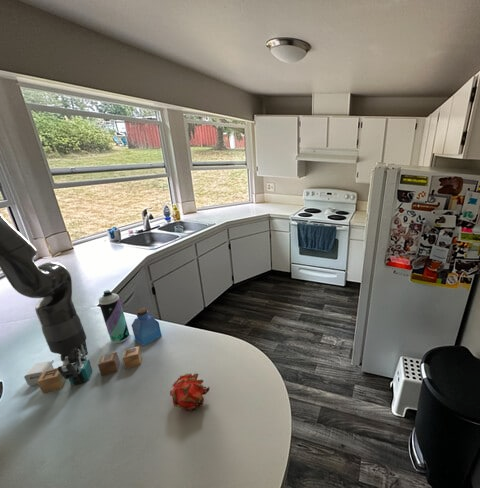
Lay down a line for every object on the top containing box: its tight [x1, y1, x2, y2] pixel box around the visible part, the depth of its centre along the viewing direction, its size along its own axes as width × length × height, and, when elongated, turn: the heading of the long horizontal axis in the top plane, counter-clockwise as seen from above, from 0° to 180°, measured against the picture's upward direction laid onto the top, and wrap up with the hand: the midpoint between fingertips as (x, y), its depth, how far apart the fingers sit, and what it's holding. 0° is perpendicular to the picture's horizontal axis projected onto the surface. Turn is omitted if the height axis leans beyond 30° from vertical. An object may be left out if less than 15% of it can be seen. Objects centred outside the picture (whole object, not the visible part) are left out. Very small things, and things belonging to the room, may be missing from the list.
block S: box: [68, 359, 93, 386], centre depth 76 cm, size 4×4×5 cm
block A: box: [37, 367, 66, 394], centre depth 73 cm, size 4×4×5 cm
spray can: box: [98, 290, 131, 344], centre depth 90 cm, size 6×6×20 cm
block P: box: [122, 345, 143, 370], centre depth 82 cm, size 4×4×5 cm
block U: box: [97, 351, 121, 377], centre depth 79 cm, size 4×4×5 cm
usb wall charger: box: [23, 359, 55, 386], centre depth 76 cm, size 4×7×4 cm, turn 22°
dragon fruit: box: [169, 372, 210, 412], centre depth 69 cm, size 8×8×12 cm
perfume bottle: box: [131, 307, 162, 346], centre depth 92 cm, size 6×6×12 cm
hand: (81, 377), depth 76 cm, fingers closed on block S, 4 cm apart
